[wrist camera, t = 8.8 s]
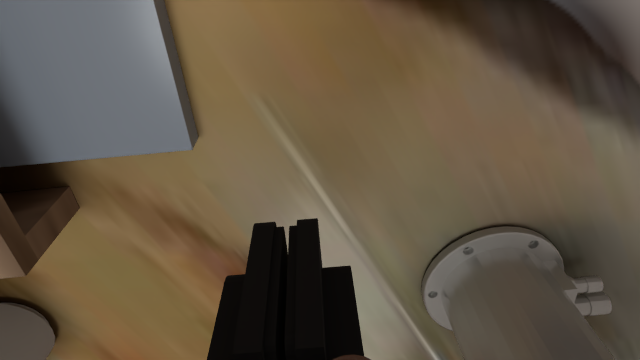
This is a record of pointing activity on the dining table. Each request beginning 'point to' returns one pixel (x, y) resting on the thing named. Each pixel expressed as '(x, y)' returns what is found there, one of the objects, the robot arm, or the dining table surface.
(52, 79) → the slate tile
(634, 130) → the dining table surface
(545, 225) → the dining table surface
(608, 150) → the dining table surface
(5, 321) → the can
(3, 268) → the walnut shelf
